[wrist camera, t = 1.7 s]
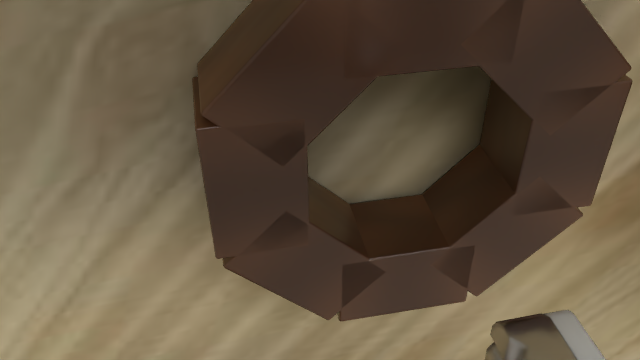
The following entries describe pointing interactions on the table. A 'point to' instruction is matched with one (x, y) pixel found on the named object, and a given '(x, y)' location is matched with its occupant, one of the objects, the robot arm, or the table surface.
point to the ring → (443, 196)
